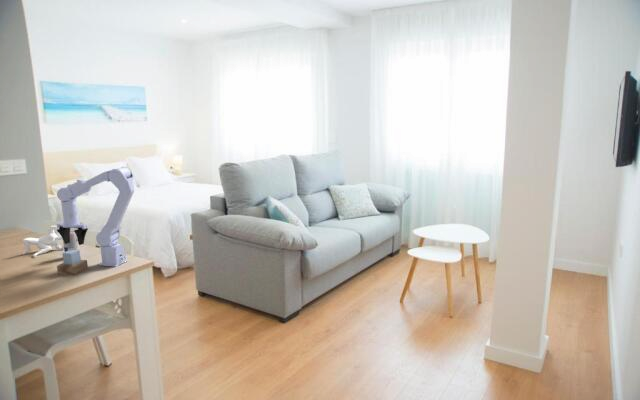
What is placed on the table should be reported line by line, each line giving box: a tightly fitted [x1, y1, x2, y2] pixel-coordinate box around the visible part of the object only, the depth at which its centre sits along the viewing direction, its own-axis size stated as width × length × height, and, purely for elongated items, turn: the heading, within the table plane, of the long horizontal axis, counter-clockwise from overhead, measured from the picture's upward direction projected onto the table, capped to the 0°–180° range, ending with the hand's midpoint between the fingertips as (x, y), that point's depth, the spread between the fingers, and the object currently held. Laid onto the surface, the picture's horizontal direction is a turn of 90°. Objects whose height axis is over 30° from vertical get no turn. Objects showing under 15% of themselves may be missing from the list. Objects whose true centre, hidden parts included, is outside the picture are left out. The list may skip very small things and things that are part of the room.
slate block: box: [62, 250, 82, 265], centre depth 182 cm, size 4×4×5 cm
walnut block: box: [56, 259, 89, 276], centre depth 183 cm, size 8×8×4 cm
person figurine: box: [22, 225, 64, 258], centre depth 212 cm, size 13×13×18 cm
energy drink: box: [62, 230, 78, 252], centre depth 202 cm, size 5×5×12 cm
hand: (74, 243), depth 190 cm, fingers open, 7 cm apart
